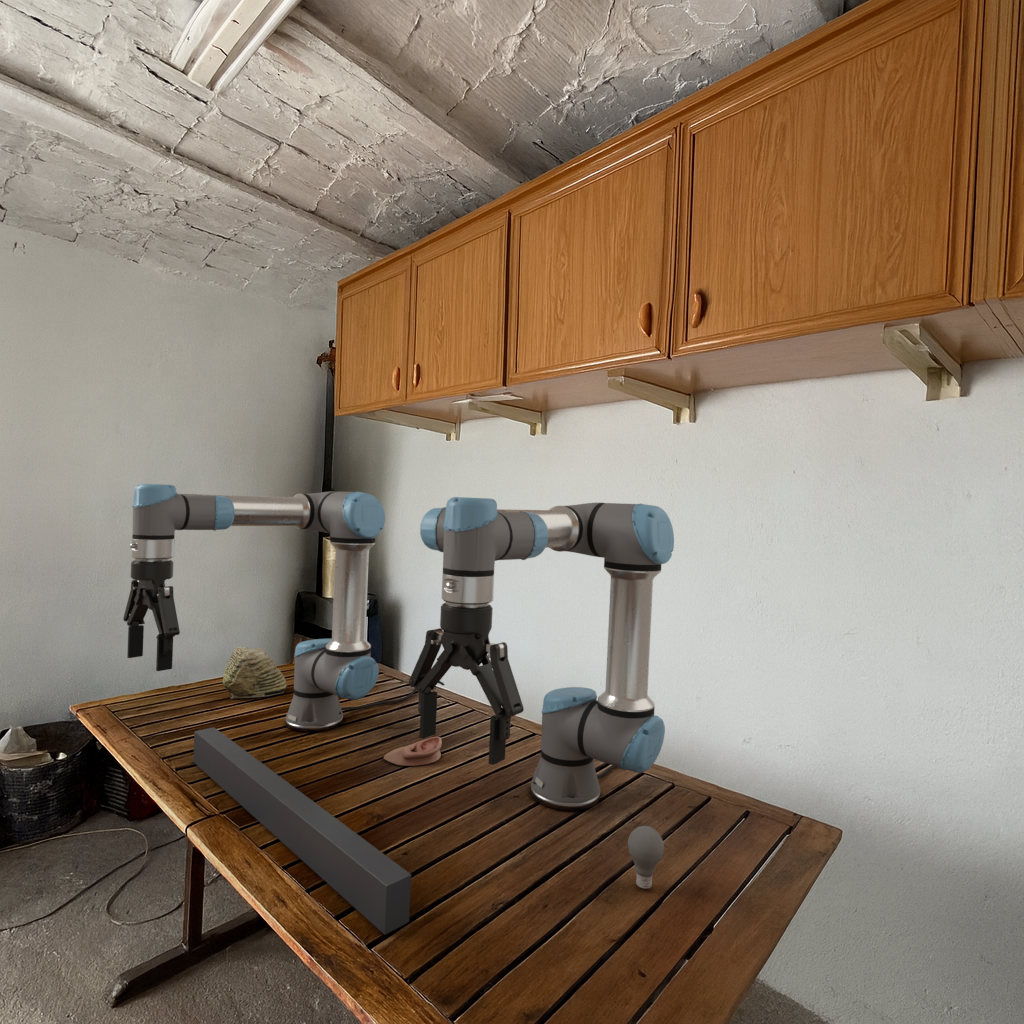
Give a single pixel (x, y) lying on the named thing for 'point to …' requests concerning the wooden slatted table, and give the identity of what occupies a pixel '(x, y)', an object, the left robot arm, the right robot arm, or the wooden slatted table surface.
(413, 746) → the anatomical model
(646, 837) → the light bulb
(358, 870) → the post
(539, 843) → the wooden slatted table surface
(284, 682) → the fossil
